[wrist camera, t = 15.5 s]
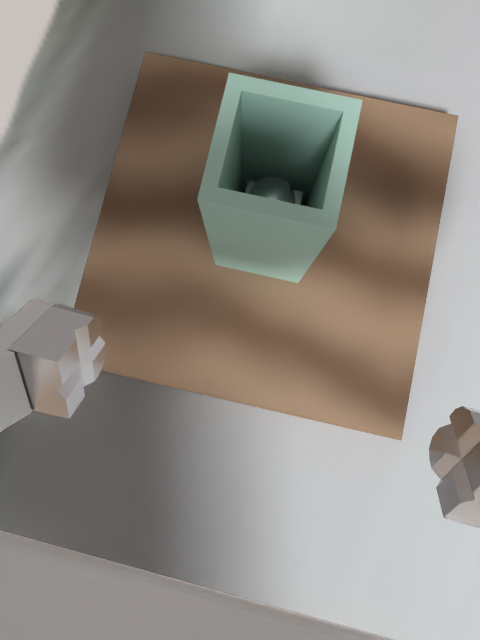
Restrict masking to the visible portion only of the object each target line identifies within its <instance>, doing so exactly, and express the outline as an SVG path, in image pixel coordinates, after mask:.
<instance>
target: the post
mask: <svg viewBox="0 0 480 640" xmlns="http://www.w3.org/2000/svg"><path fill="white" fill-rule="evenodd" d="M245 193H247V194H252V195H256V196H261V197H265V198H270V199H275V200H279V201H284V202H289V203H293V204H298V205H300V204H301V199H302V195H303V192H301V191H297V190H293V188H292V187H291V185H290V184H289V183H288V182H287V181H285V180H283V179H281V178H279V177H265V178H262V179H260V180H259V181H257V182H255V181H250V180H248V182H247V186H246V191H245Z"/></svg>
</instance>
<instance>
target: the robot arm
mask: <svg viewBox="0 0 480 640" xmlns="http://www.w3.org/2000/svg"><path fill="white" fill-rule="evenodd" d="M103 330H104V322H103V318H102V317H101V316H99V315H96V314H93V313H89V312H85V311H82V310H78V309H75V308H71V307H67V306H64V305H60V304H54V303H51V302H47V301H44V300H40V299H34V300H31V301H29V302H28V303H27V304H26V305H25V306H24V307H23V308H21V309H20V310H19V311H18V312H17V313H16V314H15V315H14V316H13V317H11V318H10V319H9V320H8V321H7V322H6V323H5V324H4V325H3V326H2V327H0V432H1V431H3V430H4V429H6V428H8V427H9V426H11V425H13V424H14V423H16V422H17V421H19V420H21V419H22V418H24V417H26V416H27V415H29V414H31V413H32V410H33V411H37V412H41V413H46V414H50V415H54V416H59V417H63V418H67V419H70V417H71V416H72V414H73V413H74V411H75V410H76V408H77V407H78V406H79V404H80V403H81V401H82V400H83V398H84V397H85V393H84V386H86V385H88V384H90V383H92V382H94V381H95V380H96V378H97V377H98V375H99V374H100V372H101V369H102V367H103V364H104V361H105V356H106V343H105V342H104V341H103V339H102V338H101V337H100V334H101V333H102V332H103ZM450 421H451V424H449V425H446V426H444V427H441V428H439V429H438V430H437V432H436V433H435V434H434V436H433V437H432V440H431V444H430V447H429V458H430V463H431V467H432V469H433V471H434V472H435V473H436V474H437V475H438V477H439V478H440V479H441V480H440V482H439V484H438V485H437V487H436V489H437V493H438V497H439V501H440V505H441V509H442V513H443V517H444V518H447V519H450V520H454V521H457V522H460V523H464V524H467V525H471V526H474V527H478V528H480V410H476V409H472V408H468V407H464V406H462V407H459V408H457V409H455V410H454V412H453V413H452V414H451V415H450ZM0 640H394V639H390V638H387V637H383V636H379V635H376V634H372V633H369V632H365V631H362V630H358V629H354V628H351V627H347V626H344V625H340V624H336V623H333V622H329V621H326V620H322V619H318V618H315V617H311V616H308V615H304V614H300V613H297V612H293V611H290V610H286V609H282V608H279V607H275V606H272V605H268V604H264V603H261V602H257V601H254V600H250V599H246V598H243V597H239V596H236V595H232V594H228V593H225V592H221V591H218V590H214V589H210V588H207V587H203V586H200V585H196V584H192V583H189V582H185V581H182V580H178V579H174V578H171V577H167V576H164V575H160V574H157V573H153V572H149V571H146V570H142V569H139V568H135V567H131V566H128V565H124V564H121V563H117V562H113V561H110V560H106V559H103V558H99V557H95V556H92V555H88V554H85V553H81V552H77V551H74V550H70V549H67V548H63V547H59V546H56V545H52V544H49V543H45V542H41V541H38V540H34V539H31V538H27V537H23V536H20V535H16V534H13V533H9V532H5V531H2V530H0Z"/></svg>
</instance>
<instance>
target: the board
mask: <svg viewBox="0 0 480 640" xmlns="http://www.w3.org/2000/svg"><path fill="white" fill-rule="evenodd" d="M229 73H234V74H239V75H244V76H248V77H253V78H258V79H263V80H268V81H273V82H278V83H282V84H287V85H292V86H297V87H302V88H307V89H312V90H317V91H321V92H326V93H331V94H336V95H341V96H346V97H351V98H356V99H360V100H363V101H362V106H361V111H360V116H359V121H358V125H357V130H356V135H355V140H354V145H353V150H352V154H351V159H350V164H349V169H348V174H347V179H346V183H345V188H344V193H343V198H342V203H341V208H340V213H339V217H338V222H337V227H336V230H335V232H334V233H333V234H332V236H331V237H330V239H329V240H328V241H327V243H326V244H325V246H324V247H323V249H322V250H321V251H320V253H319V254H318V256H317V257H316V258H315V260H314V261H313V263H312V264H311V265H310V267H309V268H308V270H307V271H306V273H305V274H304V275H303V277H302V278H301V280H300V281H299V282H298V283H295V282H291V281H286V280H282V279H277V278H273V277H268V276H264V275H259V274H255V273H250V272H246V271H241V270H237V269H232V268H228V267H223V266H219V265H215V262H214V258H213V254H212V251H211V247H210V244H209V240H208V236H207V233H206V229H205V226H204V222H203V218H202V215H201V211H200V208H199V204H198V200H197V198H198V194H199V190H200V186H201V182H202V178H203V174H204V170H205V166H206V162H207V158H208V154H209V151H210V147H211V143H212V139H213V135H214V131H215V127H216V123H217V119H218V115H219V111H220V107H221V103H222V99H223V95H224V91H225V87H226V83H227V79H228V75H229ZM457 120H458V116H457V115H452V114H447V113H442V112H437V111H432V110H427V109H422V108H417V107H413V106H408V105H403V104H398V103H393V102H388V101H383V100H378V99H373V98H369V97H364V96H359V95H354V94H349V93H344V92H339V91H334V90H330V89H325V88H320V87H315V86H310V85H305V84H300V83H295V82H290V81H286V80H281V79H276V78H271V77H266V76H261V75H256V74H251V73H246V72H242V71H237V70H232V69H227V68H222V67H217V66H212V65H207V64H203V63H198V62H193V61H188V60H183V59H178V58H173V57H168V56H163V55H159V54H154V53H149V52H145V55H144V58H143V62H142V66H141V69H140V73H139V76H138V80H137V83H136V87H135V91H134V94H133V98H132V101H131V105H130V109H129V112H128V116H127V119H126V123H125V127H124V130H123V134H122V137H121V141H120V144H119V148H118V152H117V155H116V159H115V162H114V166H113V170H112V173H111V177H110V180H109V184H108V188H107V191H106V195H105V198H104V202H103V205H102V209H101V213H100V216H99V220H98V223H97V227H96V231H95V234H94V238H93V241H92V245H91V248H90V252H89V256H88V259H87V263H86V266H85V270H84V274H83V277H82V281H81V284H80V288H79V292H78V295H77V299H76V302H75V306H74V308H75V309H78V310H82V311H85V312H89V313H93V314H96V315H99V316H101V317H102V318H103V322H104V330H103V332H102V333H101V334H100V337H101V338H102V339H103V341H104V342H105V343H106V356H105V361H104V364H103V367H102V369H101V371H104V372H109V373H113V374H117V375H122V376H126V377H130V378H134V379H139V380H143V381H147V382H152V383H156V384H160V385H165V386H169V387H173V388H177V389H182V390H186V391H190V392H195V393H199V394H203V395H208V396H212V397H216V398H220V399H225V400H229V401H233V402H238V403H242V404H246V405H251V406H255V407H259V408H263V409H268V410H272V411H276V412H281V413H285V414H289V415H294V416H298V417H302V418H306V419H311V420H315V421H319V422H324V423H328V424H332V425H337V426H341V427H345V428H349V429H354V430H358V431H362V432H367V433H371V434H375V435H380V436H384V437H388V438H392V439H397V440H402V434H403V428H404V423H405V417H406V411H407V405H408V400H409V394H410V388H411V383H412V377H413V371H414V366H415V360H416V354H417V348H418V343H419V337H420V331H421V326H422V320H423V314H424V309H425V303H426V297H427V291H428V286H429V280H430V274H431V269H432V263H433V257H434V252H435V246H436V240H437V234H438V229H439V223H440V217H441V212H442V206H443V200H444V195H445V189H446V183H447V177H448V172H449V166H450V160H451V155H452V149H453V143H454V138H455V132H456V126H457Z"/></svg>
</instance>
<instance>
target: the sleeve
mask: <svg viewBox="0 0 480 640" xmlns="http://www.w3.org/2000/svg"><path fill="white" fill-rule="evenodd" d="M362 101H363V100H360V99H356V98H351V97H346V96H341V95H336V94H331V93H326V92H321V91H317V90H312V89H307V88H302V87H297V86H292V85H287V84H282V83H278V82H273V81H268V80H263V79H258V78H253V77H248V76H244V75H239V74H234V73H229V75H228V79H227V83H226V87H225V91H224V95H223V99H222V103H221V107H220V111H219V115H218V119H217V123H216V127H215V131H214V135H213V139H212V143H211V147H210V151H209V154H208V158H207V162H206V166H205V170H204V174H203V178H202V182H201V186H200V190H199V194H198V198H197V200H198V204H199V208H200V211H201V215H202V218H203V222H204V226H205V229H206V233H207V236H208V240H209V244H210V247H211V251H212V254H213V258H214V262H215V265H219V266H223V267H228V268H232V269H237V270H241V271H246V272H250V273H255V274H259V275H264V276H268V277H273V278H277V279H282V280H286V281H291V282H295V283H298V282H299V281H300V280H301V278H302V277H303V275H304V274H305V273H306V271H307V270H308V268H309V267H310V265H311V264H312V263H313V261H314V260H315V258H316V257H317V256H318V254H319V253H320V251H321V250H322V249H323V247H324V246H325V244H326V243H327V241H328V240H329V239H330V237H331V236H332V234H333V233H334V232H335V230H336V227H337V222H338V217H339V213H340V208H341V203H342V198H343V193H344V188H345V183H346V179H347V174H348V169H349V164H350V159H351V154H352V150H353V145H354V140H355V135H356V130H357V125H358V121H359V116H360V111H361V106H362ZM265 177H279V178H281V179H283V180H285V181H287V182H288V183H289V184H290V185H291V187H292V188H293V190H297V191H301V192H303V195H302V199H301V204H300V205H298V204H293V203H289V202H284V201H279V200H275V199H270V198H265V197H261V196H256V195H252V194H247V193H245V191H246V186H247V182H248V180H250V181H255V182H257V181H259V180H260V179H262V178H265Z"/></svg>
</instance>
